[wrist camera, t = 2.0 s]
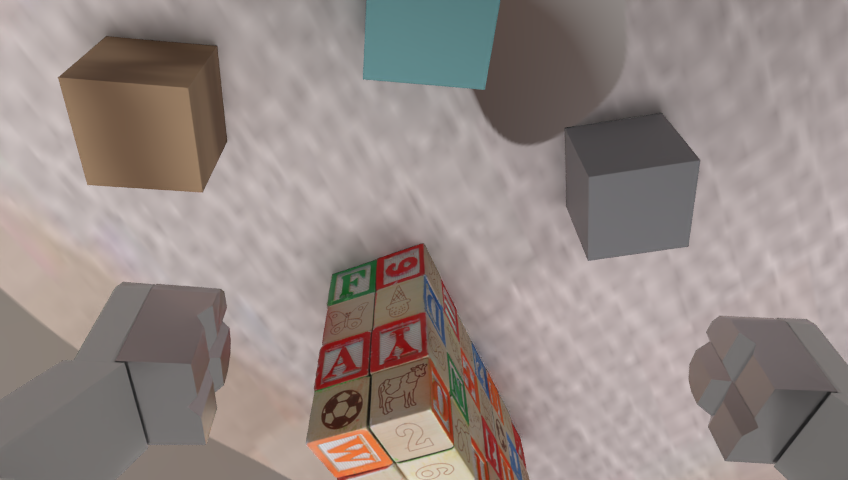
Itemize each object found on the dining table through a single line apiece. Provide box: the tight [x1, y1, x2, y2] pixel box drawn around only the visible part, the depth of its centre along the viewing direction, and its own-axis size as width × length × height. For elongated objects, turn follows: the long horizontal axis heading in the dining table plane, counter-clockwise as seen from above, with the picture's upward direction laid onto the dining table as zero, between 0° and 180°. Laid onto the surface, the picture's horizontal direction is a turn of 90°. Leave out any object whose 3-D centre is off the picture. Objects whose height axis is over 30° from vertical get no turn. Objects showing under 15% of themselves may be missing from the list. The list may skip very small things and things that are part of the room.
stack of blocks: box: [306, 244, 529, 480], centre depth 37 cm, size 21×6×12 cm, turn 22°
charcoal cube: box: [565, 113, 700, 261], centre depth 31 cm, size 5×5×5 cm
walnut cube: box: [58, 36, 227, 192], centre depth 28 cm, size 5×5×5 cm
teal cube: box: [363, 0, 500, 90], centre depth 25 cm, size 5×5×5 cm
